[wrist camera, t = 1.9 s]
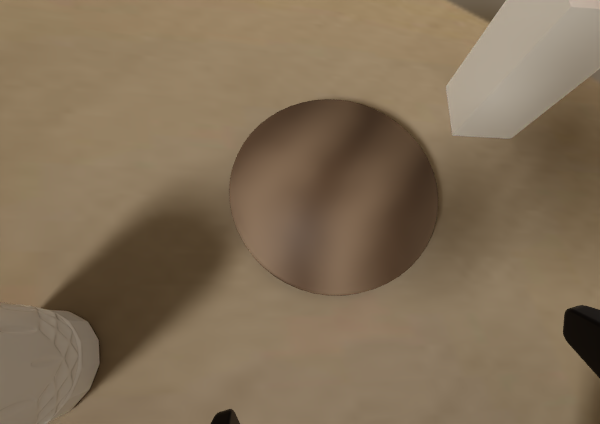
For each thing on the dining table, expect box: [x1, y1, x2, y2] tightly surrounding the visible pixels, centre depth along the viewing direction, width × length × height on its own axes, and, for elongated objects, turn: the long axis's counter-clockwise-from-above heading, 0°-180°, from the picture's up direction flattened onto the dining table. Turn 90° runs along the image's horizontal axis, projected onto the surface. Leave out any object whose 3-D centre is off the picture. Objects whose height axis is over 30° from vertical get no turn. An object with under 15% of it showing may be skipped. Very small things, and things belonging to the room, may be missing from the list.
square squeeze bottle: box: [446, 0, 600, 139], centre depth 22 cm, size 5×5×14 cm
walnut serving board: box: [229, 100, 438, 295], centre depth 25 cm, size 16×16×1 cm
